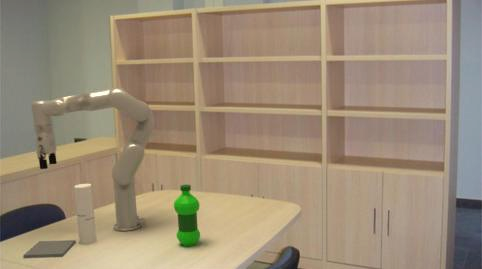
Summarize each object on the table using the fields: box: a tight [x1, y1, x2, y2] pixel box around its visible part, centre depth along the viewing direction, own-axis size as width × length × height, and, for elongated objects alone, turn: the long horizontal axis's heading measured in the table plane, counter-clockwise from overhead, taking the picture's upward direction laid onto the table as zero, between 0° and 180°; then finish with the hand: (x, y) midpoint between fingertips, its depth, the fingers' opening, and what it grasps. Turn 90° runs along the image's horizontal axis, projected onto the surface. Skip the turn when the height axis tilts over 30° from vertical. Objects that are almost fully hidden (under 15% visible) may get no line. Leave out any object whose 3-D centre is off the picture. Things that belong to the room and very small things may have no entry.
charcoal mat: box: [23, 239, 77, 259], centre depth 223 cm, size 16×16×1 cm
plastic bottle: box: [173, 184, 201, 247], centre depth 221 cm, size 10×10×25 cm
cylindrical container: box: [73, 183, 97, 246], centre depth 230 cm, size 7×7×25 cm
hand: (48, 166), depth 238 cm, fingers open, 9 cm apart
